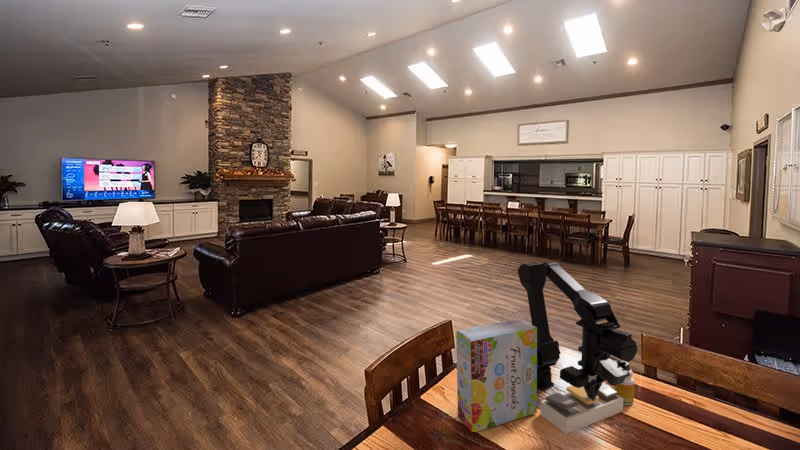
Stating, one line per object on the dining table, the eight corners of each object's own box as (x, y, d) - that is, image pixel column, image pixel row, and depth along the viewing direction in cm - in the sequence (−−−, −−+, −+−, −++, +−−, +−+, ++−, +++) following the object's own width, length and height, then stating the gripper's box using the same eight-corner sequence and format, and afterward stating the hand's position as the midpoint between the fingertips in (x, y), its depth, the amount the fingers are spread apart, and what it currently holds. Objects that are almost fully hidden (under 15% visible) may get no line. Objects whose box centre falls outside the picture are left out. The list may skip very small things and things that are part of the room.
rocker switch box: (540, 414, 105) (540, 400, 105) (594, 395, 114) (595, 382, 114) (566, 433, 97) (566, 419, 97) (622, 411, 106) (623, 397, 105)
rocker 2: (585, 382, 110) (585, 379, 110) (595, 379, 112) (596, 376, 112) (606, 398, 104) (606, 395, 104) (616, 395, 106) (617, 391, 106)
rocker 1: (545, 400, 104) (545, 396, 104) (557, 396, 106) (557, 392, 106) (566, 409, 98) (565, 405, 98) (578, 405, 99) (577, 401, 99)
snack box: (517, 398, 113) (519, 316, 110) (537, 414, 105) (540, 327, 102) (455, 415, 105) (455, 328, 102) (471, 435, 97) (472, 341, 94)
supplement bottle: (636, 406, 108) (638, 375, 107) (616, 404, 109) (617, 373, 108) (629, 396, 113) (630, 366, 112) (609, 394, 114) (611, 364, 113)
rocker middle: (566, 390, 107) (566, 386, 107) (577, 386, 109) (577, 383, 109) (587, 404, 101) (587, 401, 101) (598, 400, 103) (599, 397, 103)
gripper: (595, 366, 89) (593, 426, 91) (646, 350, 97) (643, 406, 99) (559, 347, 100) (557, 402, 101) (607, 335, 107) (604, 386, 109)
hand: (591, 400), depth 102 cm, fingers closed, pressing on rocker middle
